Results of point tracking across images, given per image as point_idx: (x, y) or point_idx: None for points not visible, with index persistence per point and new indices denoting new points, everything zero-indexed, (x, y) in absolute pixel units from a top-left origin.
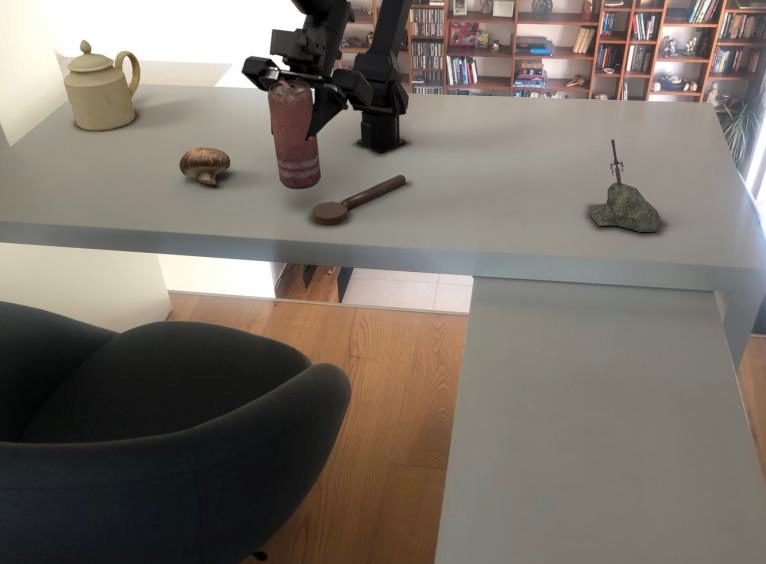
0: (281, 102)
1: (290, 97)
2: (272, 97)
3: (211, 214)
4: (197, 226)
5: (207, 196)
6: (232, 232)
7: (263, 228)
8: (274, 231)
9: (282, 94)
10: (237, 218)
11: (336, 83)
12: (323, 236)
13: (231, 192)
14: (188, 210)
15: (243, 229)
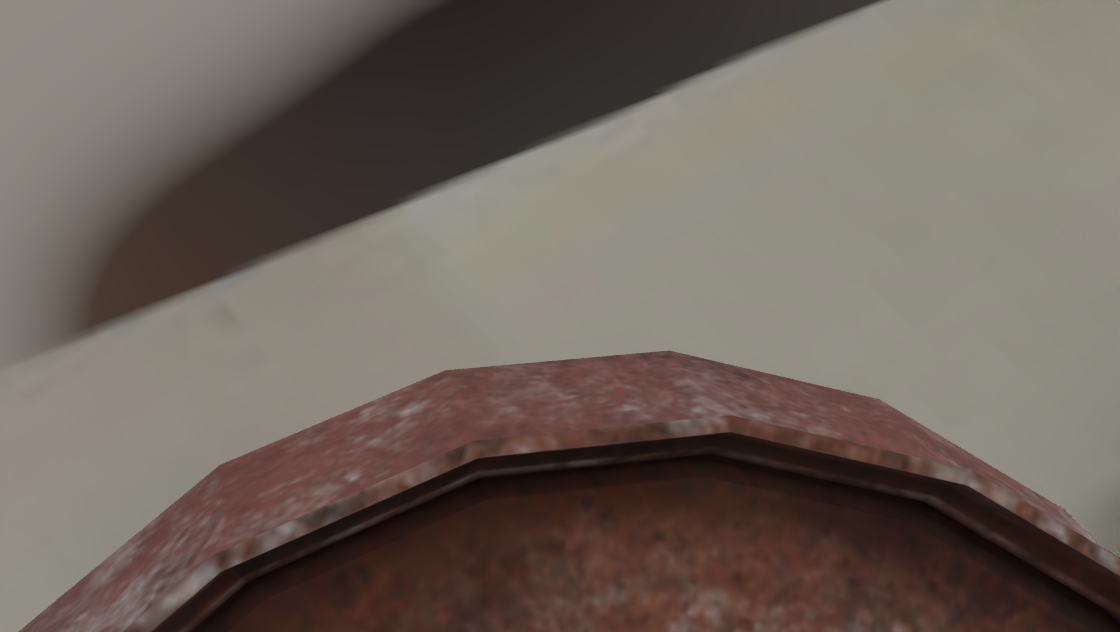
0: (388, 397)
1: (73, 628)
2: (780, 398)
3: (909, 229)
4: (863, 88)
5: (1104, 381)
6: (650, 139)
7: (530, 268)
8: (448, 276)
9: (360, 482)
10: (749, 275)
11: None
12: (131, 395)
13: None
14: (1049, 194)
15: (622, 197)
